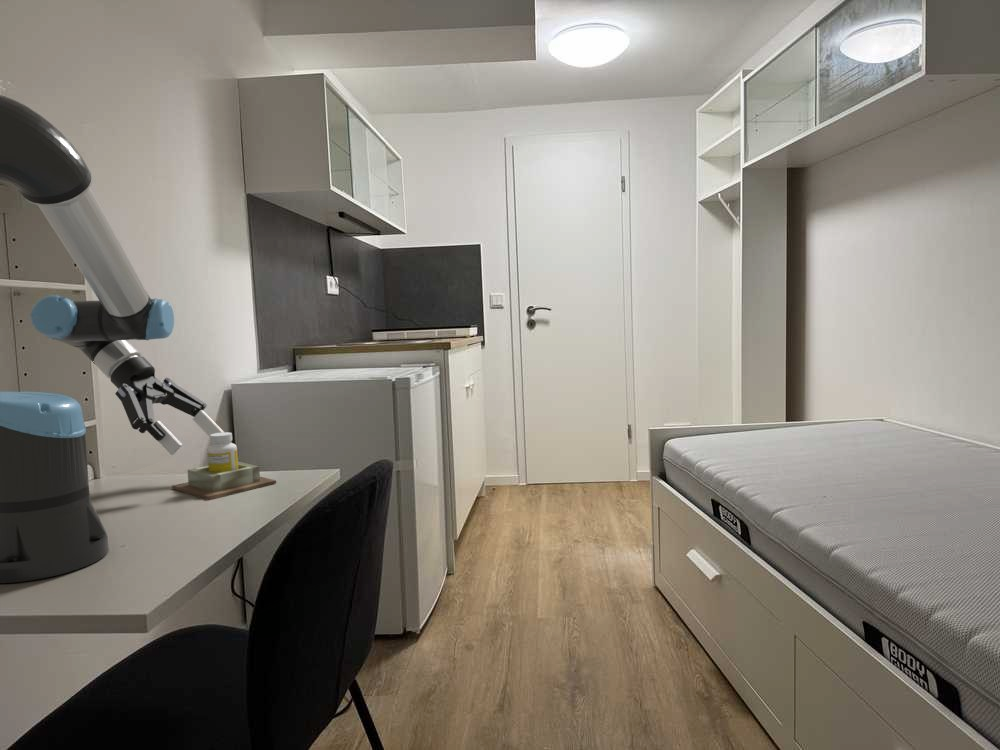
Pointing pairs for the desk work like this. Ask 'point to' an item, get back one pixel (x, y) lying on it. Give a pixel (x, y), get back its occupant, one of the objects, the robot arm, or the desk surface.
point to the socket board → (222, 481)
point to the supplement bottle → (222, 453)
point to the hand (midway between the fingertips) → (199, 443)
